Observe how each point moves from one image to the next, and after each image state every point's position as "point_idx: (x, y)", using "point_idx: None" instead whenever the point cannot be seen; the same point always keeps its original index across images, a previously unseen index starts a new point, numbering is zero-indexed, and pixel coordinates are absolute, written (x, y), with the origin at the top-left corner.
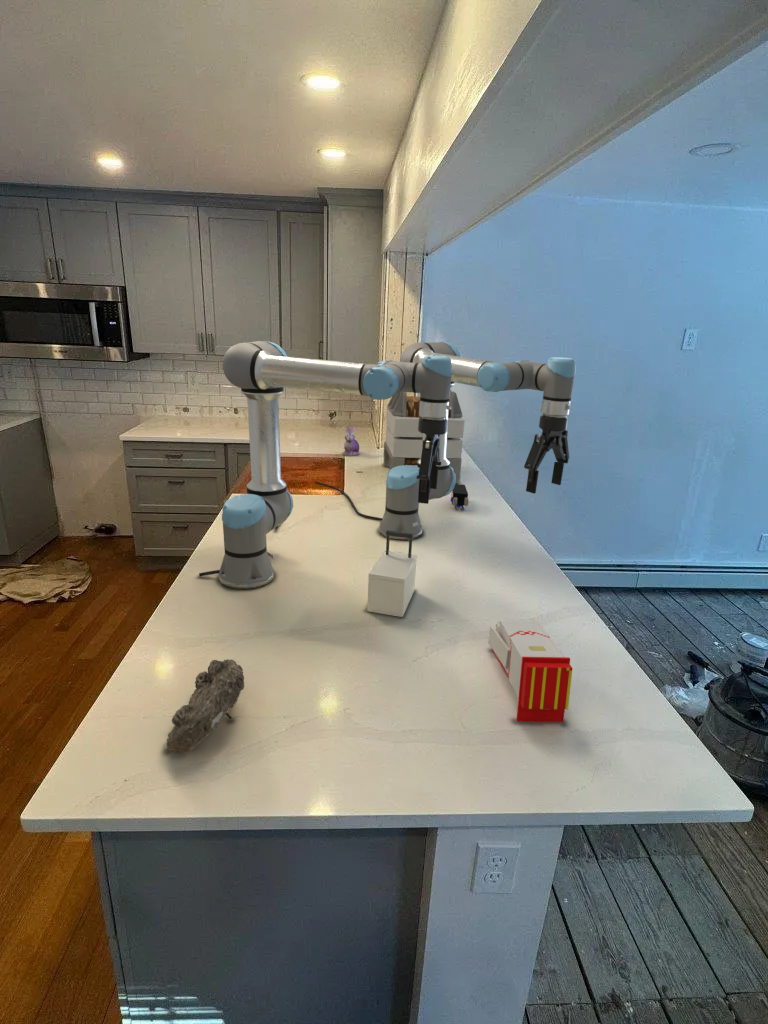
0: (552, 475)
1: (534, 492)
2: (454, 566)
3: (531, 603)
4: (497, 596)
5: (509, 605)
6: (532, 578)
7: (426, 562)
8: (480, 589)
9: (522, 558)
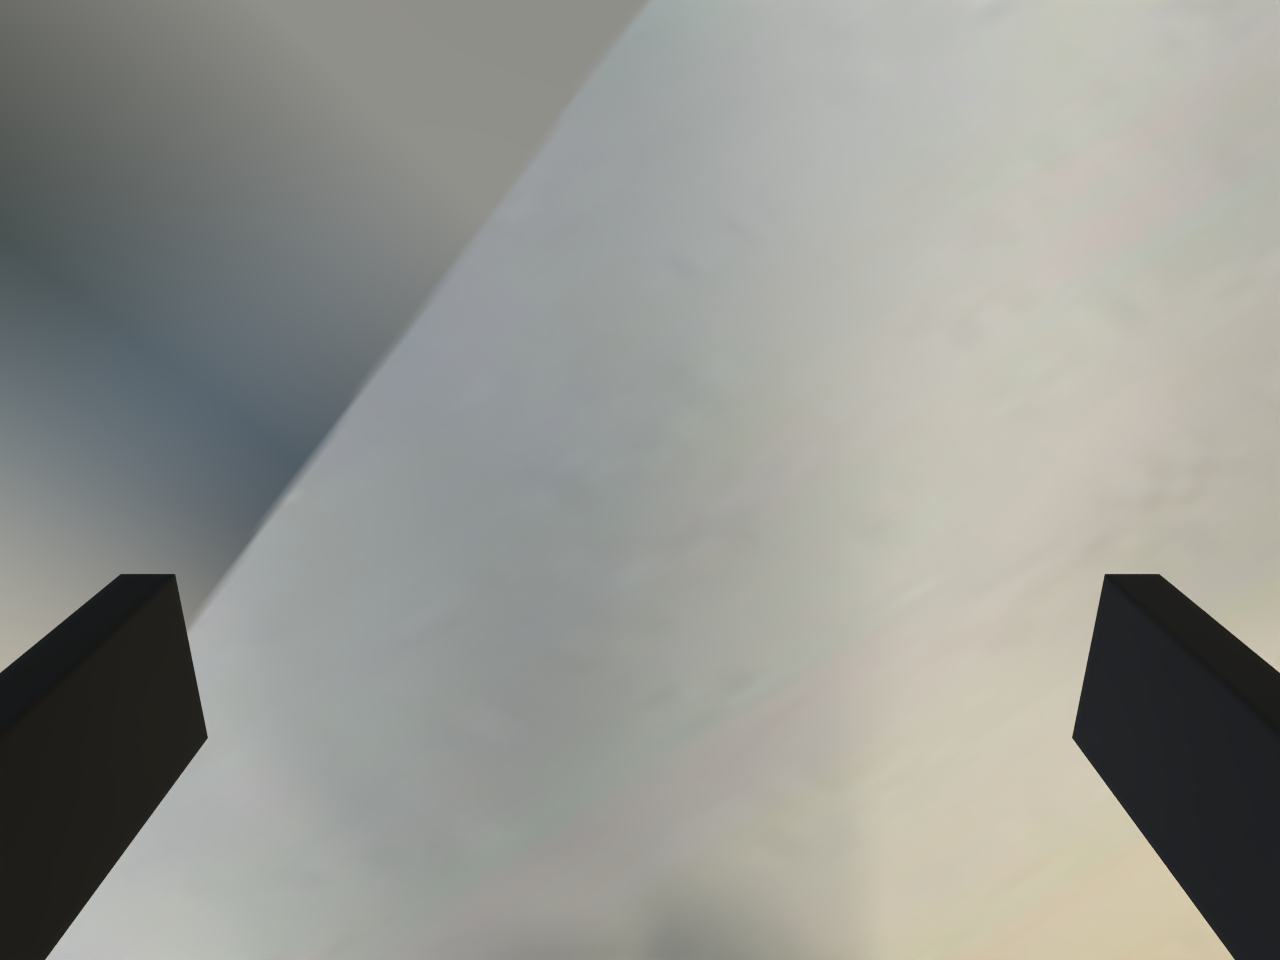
0: (119, 854)
1: (1161, 585)
2: (937, 677)
3: (1064, 41)
4: (1127, 262)
5: (1194, 130)
6: (704, 264)
7: (1010, 797)
8: (1111, 392)
9: (478, 491)
